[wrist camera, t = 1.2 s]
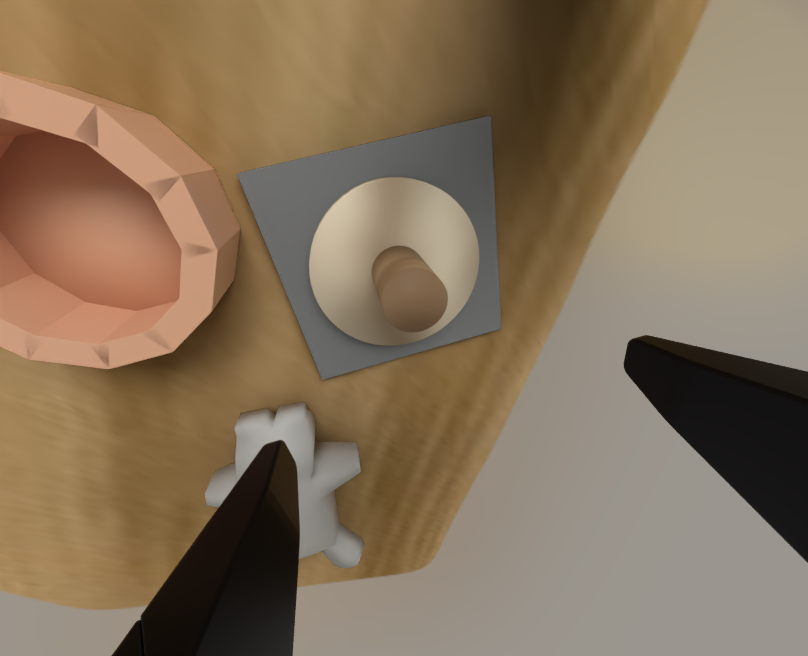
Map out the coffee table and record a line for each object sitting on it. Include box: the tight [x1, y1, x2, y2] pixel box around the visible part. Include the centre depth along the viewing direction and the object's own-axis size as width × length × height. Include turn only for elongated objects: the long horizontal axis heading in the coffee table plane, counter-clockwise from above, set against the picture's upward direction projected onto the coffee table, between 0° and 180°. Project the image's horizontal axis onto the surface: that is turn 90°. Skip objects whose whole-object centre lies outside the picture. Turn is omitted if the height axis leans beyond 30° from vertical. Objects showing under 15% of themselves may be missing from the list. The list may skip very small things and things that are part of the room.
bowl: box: [0, 71, 241, 369], centre depth 13 cm, size 10×10×4 cm
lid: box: [309, 177, 479, 346], centre depth 16 cm, size 9×9×5 cm
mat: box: [237, 116, 501, 380], centre depth 18 cm, size 12×12×1 cm
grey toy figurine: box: [205, 402, 365, 568], centre depth 23 cm, size 10×5×15 cm
